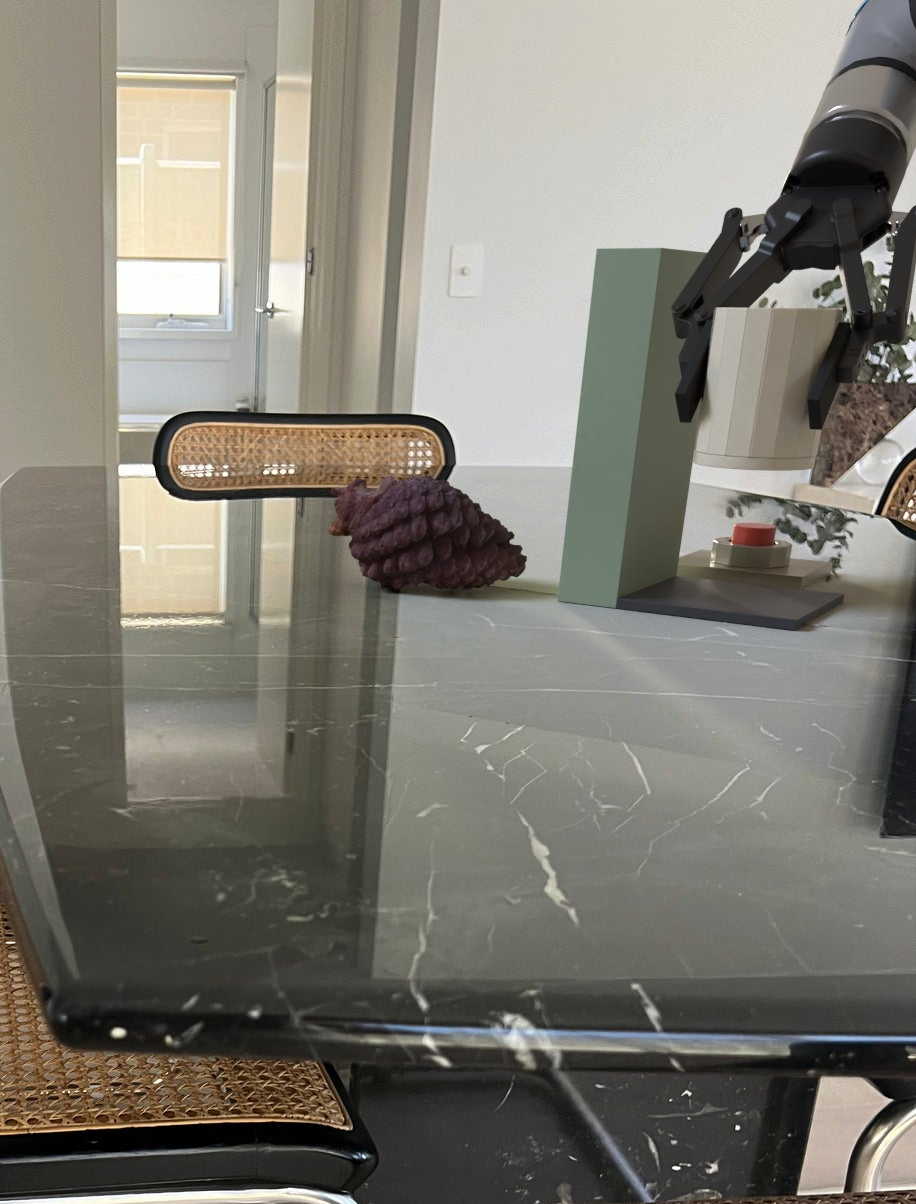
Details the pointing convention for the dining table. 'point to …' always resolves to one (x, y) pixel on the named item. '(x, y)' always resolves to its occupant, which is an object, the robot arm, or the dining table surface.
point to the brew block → (753, 565)
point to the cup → (762, 387)
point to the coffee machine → (646, 460)
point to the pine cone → (424, 535)
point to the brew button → (753, 534)
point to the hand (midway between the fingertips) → (747, 411)
